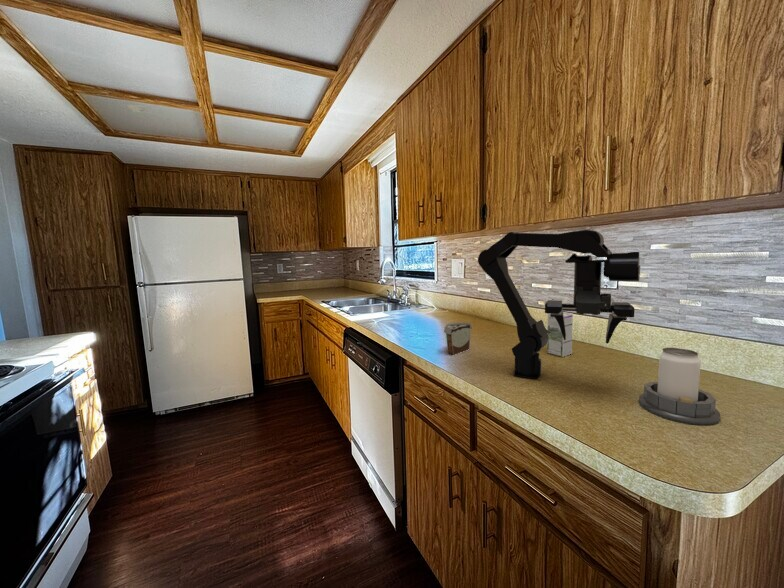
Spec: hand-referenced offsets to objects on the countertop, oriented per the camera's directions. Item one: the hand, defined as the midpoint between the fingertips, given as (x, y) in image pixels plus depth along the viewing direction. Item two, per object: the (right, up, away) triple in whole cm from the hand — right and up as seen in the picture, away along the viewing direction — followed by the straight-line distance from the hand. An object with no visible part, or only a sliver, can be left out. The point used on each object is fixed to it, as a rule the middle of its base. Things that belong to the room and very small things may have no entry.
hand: (585, 341), depth 80 cm
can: (+12, -12, -12) cm, 21 cm away
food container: (-26, -9, +36) cm, 45 cm away
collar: (+12, -13, -12) cm, 22 cm away
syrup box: (+8, -9, +28) cm, 30 cm away
